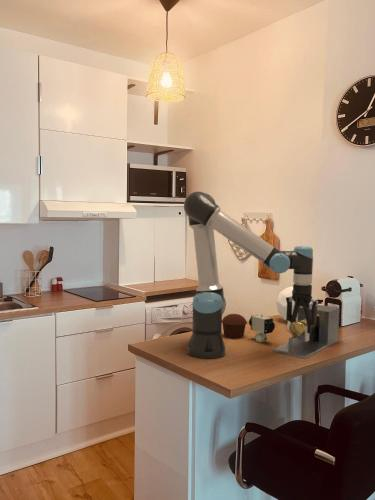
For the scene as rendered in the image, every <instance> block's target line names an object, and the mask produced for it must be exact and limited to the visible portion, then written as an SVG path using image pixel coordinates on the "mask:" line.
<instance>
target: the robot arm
mask: <svg viewBox="0 0 375 500" xmlns="http://www.w3.org/2000/svg"><path fill="white" fill-rule="evenodd" d="M184 199H185V200H184V202H183V210H184V212H185V214H186V216H187V217H188V226H189V227H190V228H191V229H192V230H193V240H194V249H195V260H196V270H197V276H198V277H197V278H198V286H197V287H196V288H195V292H196V294H195V295H194V296H193V298H192V327H191V328H192V333H191V335H190V339H189V342H188V345H187V354H188V353H189V354H190V356H191V355H192V357H196V358H199V359H217V358H222V357H223V356H225V355H226V351H227V350H226V345H225V342H224V338H223V335H222V334H223V333H222V332H223V331H222V330H223V324H222V320H223V314H224V313H225V311H226V307H227V302H226V298H225V294H224V292H225V291H224V286H223V285H222V284H220V280H219V269H218V259H217V249H216V241H215V231H216V232H217V233H219V234H220V235H222V236H223V237H225V238H226V239H227V240H229V241H230V242H232V243H233V244H234V245H236V246H237V247H239V248H241V249H242V250H243V251H245V252H247V253H248V254H249V255H251V256H253V257H254V258H255V259H257V260H258V261H260V262H261V263H263V264H264V268H266V269H270V270H271V271H272V272H274V273H275V274H284V273H286V272H287V271H288V270H293V278H292V282H293V284H292V286H293V295H292V297H287V298H286V301H287V317H286V320H287V322H288V321H290V322H291V323H292V322H296V318H297V314H298V310H299V307H300V306H302V307H303V309H304V312H305V317H306V322H307V325H305V341H306V342H307V341H309V334H310V333H311V330H312V325H314V324H316V323H317V305H319V300H315V299H314V298H313V296H312V293H313V291H312V290H313V289H312V288H313V286H312V284H313V265H314V264H313V262H314V249H313V247H311V246H307V245H306V246H303V245H300V246H299V245H297V246H295V247H294V248H293V250H279V248H276V247H274V246H273V245H272V244H270V243H269V242H267V241H266V240H264V239H263V238H262V237H260V236H259V235H257V234H256V233H254V232H253V231H252V230H250V229H248V228H247V227H245V226H244V225H243V224H241V223H240V222H238V221H237V220H235V219H234V218H232V217H231V216H229V215H228V214H227V213H225V212H224V211H222V210H221V207H220V205H218V204H217V203H216V201H215V199H214V198H213V196H212V195H210V194H208V193H206V192H203V191H193V192H191V193H189V194H188V195H187V196H186V198H184ZM293 300H294V302H295V304H294V310H293V313H292V301H293ZM310 302H312V316H311V315H310V309H309V308H310V307H309V303H310ZM286 320H285V321H286ZM293 336H294V335H292V334H291V337H293ZM189 354H188V355H189Z"/></svg>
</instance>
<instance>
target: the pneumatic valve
mask: <svg viewBox="0 0 375 500" xmlns="http://www.w3.org/2000/svg"><path fill="white" fill-rule="evenodd" d="M248 325H249V326H250V330H251V331H253V332H254V331H255V332H256V333H255V341H256V342H258V343H261V344H262V343H266V342H267V341H268V337H267V336H268V335H267V334H271V333H273V332H274V331H275V328H276V325H275V323H274V318H272V317H269V316H265V315H264V314H263V313H262V314H255V315H251V316H250V318H249V320H248Z"/></svg>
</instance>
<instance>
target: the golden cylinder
mask: <svg viewBox="0 0 375 500" xmlns="http://www.w3.org/2000/svg"><path fill="white" fill-rule="evenodd" d="M305 325H307V322H306V319H304V320H301V321H298V322H292V323H291V324H290V326H289V331H290V332H289V331H288V332H289V333H290V334H291V336H292V335H294V336H300V335H301V334H302V333H303V332H305ZM315 326H316V324H314V325H312V328H314V327H315Z"/></svg>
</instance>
